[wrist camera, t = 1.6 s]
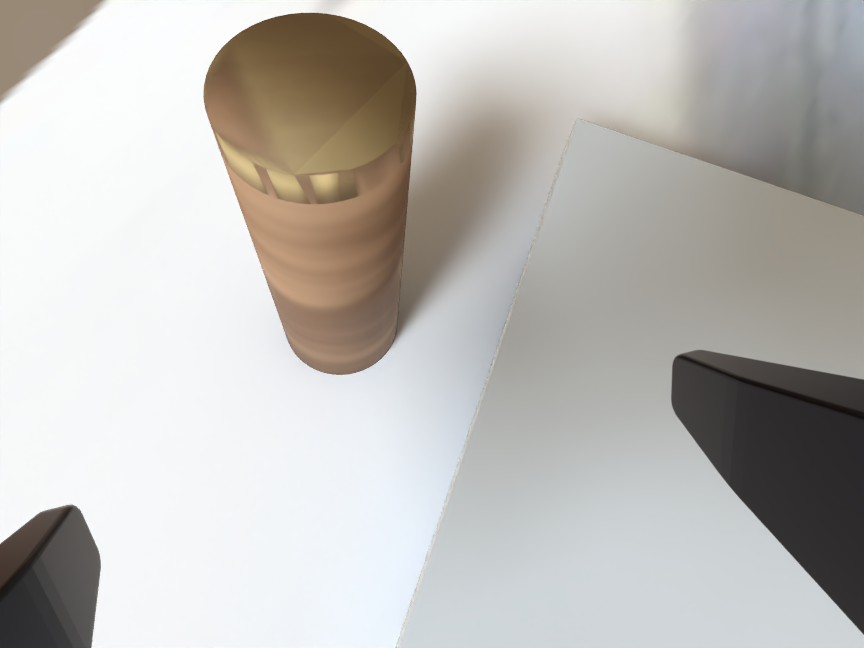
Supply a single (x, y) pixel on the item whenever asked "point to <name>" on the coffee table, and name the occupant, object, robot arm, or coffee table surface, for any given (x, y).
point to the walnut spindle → (320, 175)
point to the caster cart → (638, 416)
